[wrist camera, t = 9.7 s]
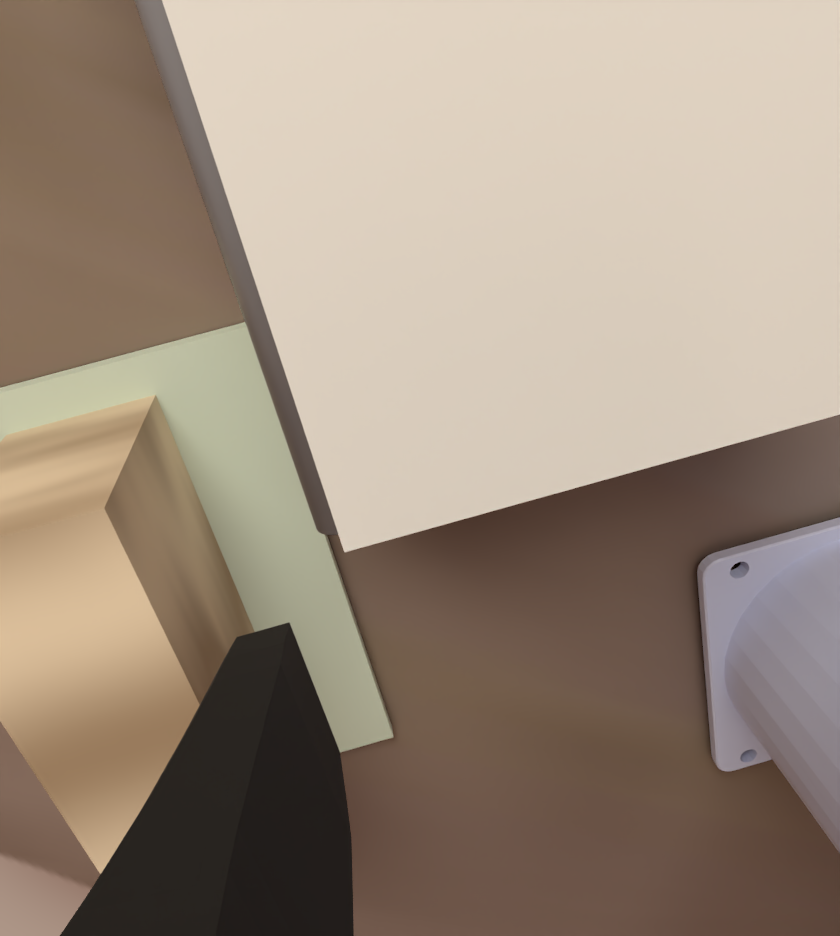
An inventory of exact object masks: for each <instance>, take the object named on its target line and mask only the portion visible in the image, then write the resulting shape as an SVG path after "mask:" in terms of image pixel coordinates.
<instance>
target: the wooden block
mask: <svg viewBox="0 0 840 936" xmlns="http://www.w3.org/2000/svg"><path fill="white" fill-rule="evenodd" d="M253 632H255V631H254V629H253V627H252V624H251V622H250V619H249V617H248V615H247V612H246V610H245V607H244V605H243V603H242V600H241V598H240V595H239V593H238V591H237V588H236V586H235V583H234V581H233V579H232V576H231V574H230V571H229V569H228V567H227V564H226V562H225V560H224V557H223V555H222V552H221V550H220V548H219V545H218V543H217V540H216V538H215V536H214V533H213V531H212V528H211V526H210V524H209V521H208V519H207V516H206V514H205V512H204V509H203V507H202V504H201V502H200V500H199V497H198V495H197V492H196V490H195V488H194V485H193V483H192V480H191V478H190V476H189V473H188V471H187V468H186V466H185V464H184V461H183V459H182V456H181V454H180V452H179V449H178V447H177V445H176V442H175V440H174V437H173V435H172V433H171V430H170V428H169V425H168V423H167V421H166V418H165V416H164V413H163V411H162V409H161V406H160V404H159V401H158V399H157V397H156V395H153V396H149V397H145V398H141V399H138V400H134V401H130V402H127V403H123V404H119V405H115V406H112V407H108V408H104V409H101V410H97V411H93V412H90V413H86V414H82V415H78V416H75V417H71V418H67V419H64V420H60V421H56V422H53V423H49V424H45V425H41V426H38V427H34V428H30V429H27V430H23V431H19V432H15V433H12V434H8V435H6V436H5V437H4V438H3V440H2V441H1V442H0V721H1V723H2V724H3V726H4V727H5V729H6V730H7V732H8V733H9V735H10V737H11V738H12V740H13V741H14V743H15V744H16V746H17V747H18V749H19V750H20V752H21V753H22V755H23V756H24V758H25V759H26V761H27V762H28V764H29V766H30V767H31V769H32V770H33V772H34V773H35V775H36V776H37V778H38V779H39V781H40V782H41V784H42V785H43V787H44V788H45V790H46V792H47V793H48V795H49V796H50V798H51V799H52V801H53V802H54V804H55V805H56V807H57V808H58V810H59V811H60V813H61V814H62V816H63V818H64V819H65V821H66V822H67V824H68V825H69V827H70V828H71V830H72V831H73V833H74V834H75V836H76V837H77V839H78V840H79V842H80V844H81V845H82V847H83V848H84V850H85V851H86V853H87V854H88V856H89V857H90V859H91V860H92V862H93V863H94V865H95V866H96V868H97V869H98V871H99V873H100V874H101V873H102V871H103V870H104V868H105V867H106V865H107V863H108V862H109V860H110V859H111V857H112V856H113V854H114V852H115V851H116V849H117V848H118V846H119V844H120V843H121V841H122V840H123V838H124V836H125V835H126V833H127V832H128V830H129V828H130V827H131V825H132V824H133V822H134V820H135V819H136V817H137V816H138V814H139V812H140V811H141V809H142V807H143V806H144V804H145V802H146V801H147V799H148V797H149V795H150V794H151V792H152V790H153V788H154V787H155V785H156V783H157V781H158V780H159V778H160V776H161V774H162V773H163V771H164V769H165V767H166V765H167V764H168V762H169V760H170V758H171V757H172V755H173V753H174V751H175V750H176V748H177V746H178V744H179V743H180V741H181V739H182V737H183V735H184V733H185V732H186V730H187V728H188V726H189V724H190V722H191V720H192V719H193V717H194V715H195V713H196V711H197V709H198V707H199V706H200V704H201V702H202V700H203V698H204V696H205V694H206V692H207V690H208V689H209V687H210V685H211V683H212V681H213V679H214V677H215V675H216V673H217V671H218V669H219V668H220V666H221V664H222V662H223V660H224V658H225V656H226V655H227V653H228V651H229V649H230V647H231V646H232V644H233V642H234V641H235V639H236V637H239V636H242V635H246V634H249V633H253Z"/></svg>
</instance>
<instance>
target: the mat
mask: <svg viewBox="0 0 840 936" xmlns="http://www.w3.org/2000/svg"><path fill="white" fill-rule="evenodd" d="M153 395H156V397H157V399H158V401H159V404H160V406H161V409H162V411H163V413H164V416H165V418H166V421H167V423H168V425H169V428H170V430H171V433H172V435H173V437H174V440H175V442H176V445H177V447H178V449H179V452H180V454H181V456H182V459H183V461H184V464H185V466H186V468H187V471H188V473H189V476H190V478H191V480H192V483H193V485H194V488H195V490H196V492H197V495H198V497H199V500H200V502H201V504H202V507H203V509H204V512H205V514H206V516H207V519H208V521H209V524H210V526H211V528H212V531H213V533H214V536H215V538H216V540H217V543H218V545H219V548H220V550H221V552H222V555H223V557H224V560H225V562H226V564H227V567H228V569H229V571H230V574H231V576H232V579H233V581H234V583H235V586H236V588H237V591H238V593H239V595H240V598H241V600H242V603H243V605H244V607H245V610H246V612H247V615H248V617H249V619H250V622H251V624H252V627H253V629H254V631H255V632H257V631H260V630H264V629H267V628H271V627H274V626H278V625H282V624H285V623H289V622H290V625H291V628H292V630H293V633H294V635H295V638H296V640H297V643H298V646H299V648H300V651H301V653H302V656H303V658H304V661H305V664H306V666H307V669H308V671H309V674H310V676H311V679H312V682H313V684H314V687H315V689H316V692H317V694H318V697H319V699H320V702H321V705H322V707H323V710H324V712H325V715H326V717H327V720H328V723H329V725H330V728H331V730H332V733H333V735H334V738H335V741H336V743H337V746H338V748H339V751H340V752H344V751H347V750H351V749H354V748H358V747H361V746H365V745H368V744H372V743H375V742H379V741H382V740H386V739H389V738H393V730H392V725H391V722H390V719H389V717H388V714H387V711H386V708H385V705H384V702H383V699H382V696H381V693H380V690H379V687H378V684H377V681H376V678H375V675H374V672H373V669H372V666H371V663H370V660H369V657H368V655H367V652H366V649H365V646H364V643H363V640H362V637H361V634H360V631H359V628H358V625H357V622H356V619H355V616H354V613H353V610H352V607H351V604H350V601H349V598H348V595H347V592H346V590H345V587H344V584H343V581H342V578H341V575H340V572H339V569H338V566H337V563H336V560H335V557H334V554H333V551H332V548H331V545H330V542H329V539H328V536H327V535H325V534H321V533H319V532H318V531H317V529H316V526H315V523H314V520H313V518H312V515H311V512H310V509H309V506H308V503H307V500H306V497H305V494H304V491H303V489H302V486H301V483H300V480H299V477H298V474H297V471H296V468H295V465H294V462H293V460H292V457H291V454H290V451H289V448H288V445H287V442H286V439H285V436H284V433H283V431H282V428H281V425H280V422H279V419H278V416H277V413H276V410H275V407H274V404H273V402H272V399H271V396H270V393H269V390H268V387H267V384H266V381H265V378H264V375H263V373H262V370H261V367H260V364H259V361H258V358H257V355H256V352H255V349H254V346H253V344H252V341H251V338H250V335H249V332H248V329H247V326H246V323H245V322H244V323H240V324H236V325H233V326H229V327H225V328H221V329H218V330H214V331H210V332H207V333H203V334H199V335H195V336H192V337H188V338H184V339H180V340H177V341H173V342H169V343H166V344H162V345H158V346H154V347H151V348H147V349H143V350H140V351H136V352H132V353H128V354H125V355H121V356H117V357H114V358H110V359H106V360H102V361H99V362H95V363H91V364H87V365H84V366H80V367H76V368H73V369H69V370H65V371H61V372H58V373H54V374H50V375H47V376H43V377H39V378H35V379H32V380H28V381H24V382H21V383H17V384H13V385H9V386H6V387H2V388H0V442H1V441H2V440H3V438H4V437H5V436H6V435H8V434H12V433H15V432H19V431H23V430H27V429H30V428H34V427H38V426H41V425H45V424H49V423H53V422H56V421H60V420H64V419H67V418H71V417H75V416H78V415H82V414H86V413H90V412H93V411H97V410H101V409H104V408H108V407H112V406H115V405H119V404H123V403H127V402H130V401H134V400H138V399H141V398H145V397H149V396H153Z"/></svg>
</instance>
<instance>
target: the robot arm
mask: <svg viewBox="0 0 840 936" xmlns="http://www.w3.org/2000/svg"><path fill="white" fill-rule="evenodd" d="M738 562H741V564H740V565H739V566H738V567H737V568H736V569H734V570H731V568H732V567H733V565H734V564H736V563H738ZM697 579H698V591H699V604H700V616H701V629H702V641H703V654H704V667H705V679H706V692H707V704H708V717H709V729H710V742H711V755H712V759H713V761H714V762H715V764H716V766H717V767H718V768H719V769H720V770H722V771H734V770H738V769H741V768H745V767H748V766H751V765H755V764H758V763H762V762H765V761H769V760H773V761H774V763H775V764H776V765H777V767H778V768H779V770H780V771H781V772H782V774H783V775H784V777H785V778H786V779H787V781H788V782H789V783H790V785H791V786H792V788H793V789H794V790H795V792H796V793H797V795H798V796H799V797H800V799H801V800H802V802H803V803H804V804H805V806H806V807H807V809H808V810H809V811H810V813H811V814H812V816H813V817H814V818H815V820H816V821H817V823H818V824H819V825H820V827H821V828H822V829H823V831H824V832H825V834H826V835H827V836H828V838H829V839H830V841H831V842H832V843H833V845H834V846H835V848H836V849H837V850H838V852H839V853H840V517H839V518H835V519H832V520H828V521H825V522H821V523H818V524H814V525H811V526H807V527H803V528H800V529H796V530H793V531H789V532H786V533H782V534H779V535H775V536H772V537H768V538H765V539H761V540H757V541H754V542H750V543H747V544H743V545H740V546H736V547H733V548H729V549H726V550H722V551H719V552H715V553H712V554H710V555H708V556H706V557H705V558H704V559H703V560H702V561H701V563H700V564H699V566H698V570H697ZM60 936H354V935H353V888H352V849H351V832H350V824H349V816H348V808H347V800H346V793H345V786H344V779H343V772H342V765H341V758H340V751H339V748H338V746H337V743H336V741H335V738H334V735H333V733H332V730H331V728H330V725H329V723H328V720H327V717H326V715H325V712H324V710H323V707H322V705H321V702H320V699H319V697H318V694H317V692H316V689H315V687H314V684H313V682H312V679H311V676H310V674H309V671H308V669H307V666H306V664H305V661H304V658H303V656H302V653H301V651H300V648H299V646H298V643H297V640H296V638H295V635H294V633H293V630H292V628H291V625H290V622H289V623H285V624H282V625H278V626H274V627H271V628H267V629H264V630H260V631H257V632H253V633H249V634H246V635H242V636H239V637H236V639H235V641H234V642H233V644H232V646H231V647H230V649H229V651H228V653H227V655H226V656H225V658H224V660H223V662H222V664H221V666H220V668H219V669H218V671H217V673H216V675H215V677H214V679H213V681H212V683H211V685H210V687H209V689H208V690H207V692H206V694H205V696H204V698H203V700H202V702H201V704H200V706H199V707H198V709H197V711H196V713H195V715H194V717H193V719H192V720H191V722H190V724H189V726H188V728H187V730H186V732H185V733H184V735H183V737H182V739H181V741H180V743H179V744H178V746H177V748H176V750H175V751H174V753H173V755H172V757H171V758H170V760H169V762H168V764H167V765H166V767H165V769H164V771H163V773H162V774H161V776H160V778H159V780H158V781H157V783H156V785H155V787H154V788H153V790H152V792H151V794H150V795H149V797H148V799H147V801H146V802H145V804H144V806H143V807H142V809H141V811H140V812H139V814H138V816H137V817H136V819H135V820H134V822H133V824H132V825H131V827H130V828H129V830H128V832H127V833H126V835H125V836H124V838H123V840H122V841H121V843H120V844H119V846H118V848H117V849H116V851H115V852H114V854H113V856H112V857H111V859H110V860H109V862H108V863H107V865H106V867H105V868H104V870H103V871H102V873H101V875H100V876H99V878H98V879H97V881H96V883H95V884H94V886H93V887H92V889H91V890H90V892H89V894H88V895H87V897H86V898H85V900H84V901H83V903H82V904H81V906H80V907H79V908H78V910H77V911H76V913H75V915H74V916H73V917H72V919H71V920H70V922H69V923H68V925H67V926H66V928H65V929H64V931H63V932H62V934H61V935H60Z"/></svg>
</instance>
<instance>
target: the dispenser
mask: <svg viewBox="0 0 840 936" xmlns="http://www.w3.org/2000/svg"><path fill="white" fill-rule="evenodd" d="M134 1H135V4H136V7H137V10H138V13H139V16H140V19H141V21H142V24H143V27H144V30H145V33H146V36H147V39H148V42H149V45H150V48H151V50H152V53H153V56H154V59H155V62H156V65H157V68H158V71H159V74H160V77H161V79H162V82H163V85H164V88H165V91H166V94H167V97H168V100H169V103H170V106H171V108H172V111H173V114H174V117H175V120H176V123H177V126H178V129H179V132H180V135H181V138H182V140H183V143H184V146H185V149H186V152H187V155H188V158H189V161H190V164H191V167H192V169H193V172H194V175H195V178H196V181H197V184H198V187H199V190H200V193H201V196H202V198H203V201H204V204H205V207H206V210H207V213H208V216H209V219H210V222H211V225H212V227H213V230H214V233H215V236H216V239H217V242H218V245H219V248H220V251H221V254H222V256H223V259H224V262H225V265H226V268H227V271H228V274H229V277H230V280H231V283H232V285H233V288H234V291H235V294H236V297H237V300H238V303H239V306H240V309H241V312H242V314H243V317H244V320H245V323H246V326H247V329H248V332H249V335H250V338H251V341H252V344H253V346H254V349H255V352H256V355H257V358H258V361H259V364H260V367H261V370H262V373H263V375H264V378H265V381H266V384H267V387H268V390H269V393H270V396H271V399H272V402H273V404H274V407H275V410H276V413H277V416H278V419H279V422H280V425H281V428H282V431H283V433H284V436H285V439H286V442H287V445H288V448H289V451H290V454H291V457H292V460H293V462H294V465H295V468H296V471H297V474H298V477H299V480H300V483H301V486H302V489H303V491H304V494H305V497H306V500H307V503H308V506H309V509H310V512H311V515H312V518H313V520H314V523H315V526H316V529H317V531H318V532H319V533H321V534H325V535H337V534H338V535H339V538H340V541H341V544H342V547H343V550H344V552H348V551H351V550H355V549H358V548H362V547H366V546H369V545H373V544H376V543H380V542H384V541H387V540H391V539H394V538H398V537H401V536H405V535H409V534H412V533H416V532H419V531H423V530H427V529H430V528H434V527H437V526H441V525H445V524H448V523H452V522H455V521H459V520H463V519H466V518H470V517H473V516H477V515H480V514H484V513H488V512H491V511H495V510H498V509H502V508H506V507H509V506H513V505H516V504H520V503H524V502H527V501H531V500H534V499H538V498H542V497H545V496H549V495H552V494H556V493H559V492H563V491H567V490H570V489H574V488H577V487H581V486H585V485H588V484H592V483H595V482H599V481H603V480H606V479H610V478H613V477H617V476H621V475H624V474H628V473H631V472H635V471H638V470H642V469H646V468H649V467H653V466H656V465H660V464H664V463H667V462H671V461H674V460H678V459H682V458H685V457H689V456H692V455H696V454H700V453H703V452H707V451H710V450H714V449H717V448H721V447H725V446H728V445H732V444H735V443H739V442H743V441H746V440H750V439H753V438H757V437H761V436H764V435H768V434H771V433H775V432H779V431H782V430H786V429H789V428H793V427H796V426H800V425H804V424H807V423H811V422H814V421H818V420H822V419H825V418H829V417H832V416H836V415H840V0H134Z"/></svg>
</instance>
